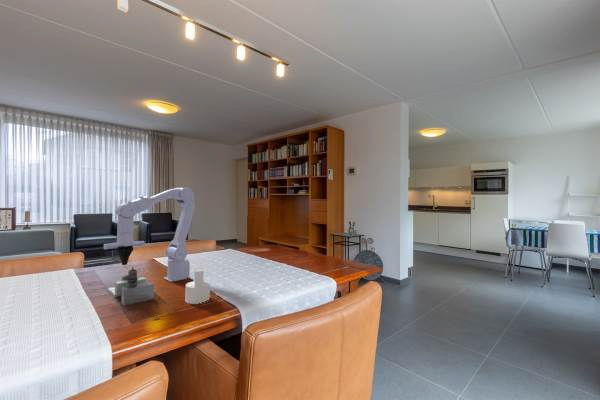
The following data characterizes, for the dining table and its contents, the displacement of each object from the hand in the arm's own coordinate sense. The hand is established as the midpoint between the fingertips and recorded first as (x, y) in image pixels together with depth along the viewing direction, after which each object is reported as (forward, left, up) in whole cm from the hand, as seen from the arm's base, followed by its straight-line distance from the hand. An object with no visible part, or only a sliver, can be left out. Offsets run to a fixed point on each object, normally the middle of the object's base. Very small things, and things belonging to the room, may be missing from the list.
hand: (124, 264), depth 115 cm
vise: (0, +9, -10) cm, 14 cm away
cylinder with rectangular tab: (-17, +31, -11) cm, 37 cm away
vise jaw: (0, +8, -9) cm, 12 cm away
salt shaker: (+1, +14, -11) cm, 17 cm away
